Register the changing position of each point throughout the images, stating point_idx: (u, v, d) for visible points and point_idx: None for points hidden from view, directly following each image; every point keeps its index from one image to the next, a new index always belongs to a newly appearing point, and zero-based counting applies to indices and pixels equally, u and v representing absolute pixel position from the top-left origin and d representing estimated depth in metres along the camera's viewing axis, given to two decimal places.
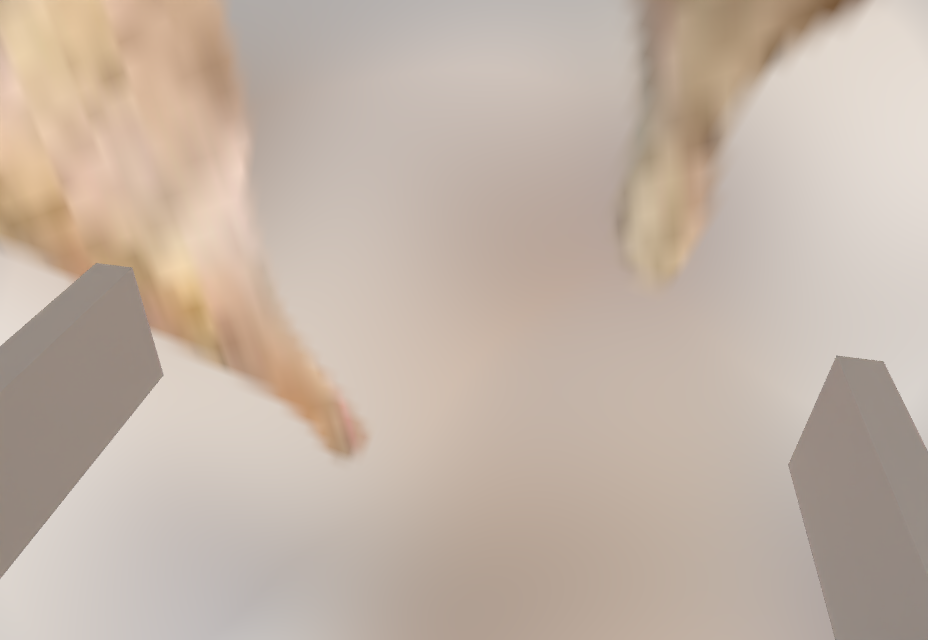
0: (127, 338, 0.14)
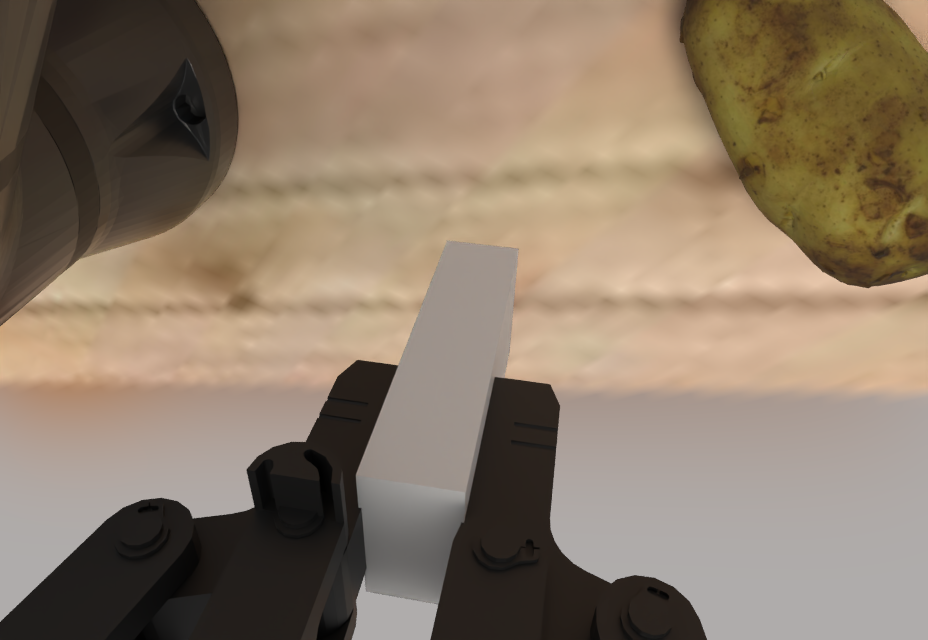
0: None
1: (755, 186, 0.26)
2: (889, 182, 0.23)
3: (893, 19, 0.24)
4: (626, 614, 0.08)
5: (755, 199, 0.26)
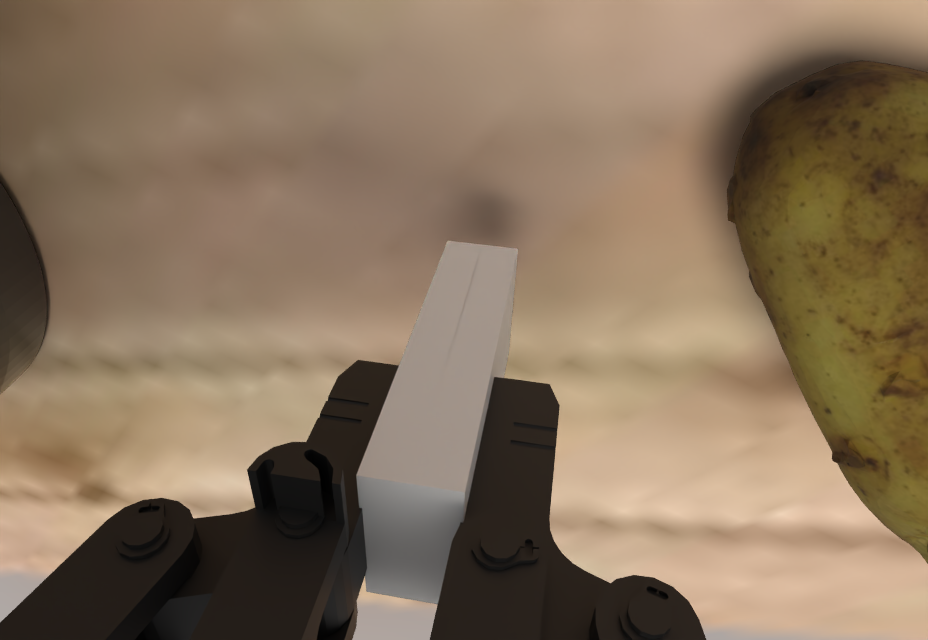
0: None
1: (864, 485, 0.14)
2: None
3: None
4: (625, 614, 0.08)
5: (861, 497, 0.15)
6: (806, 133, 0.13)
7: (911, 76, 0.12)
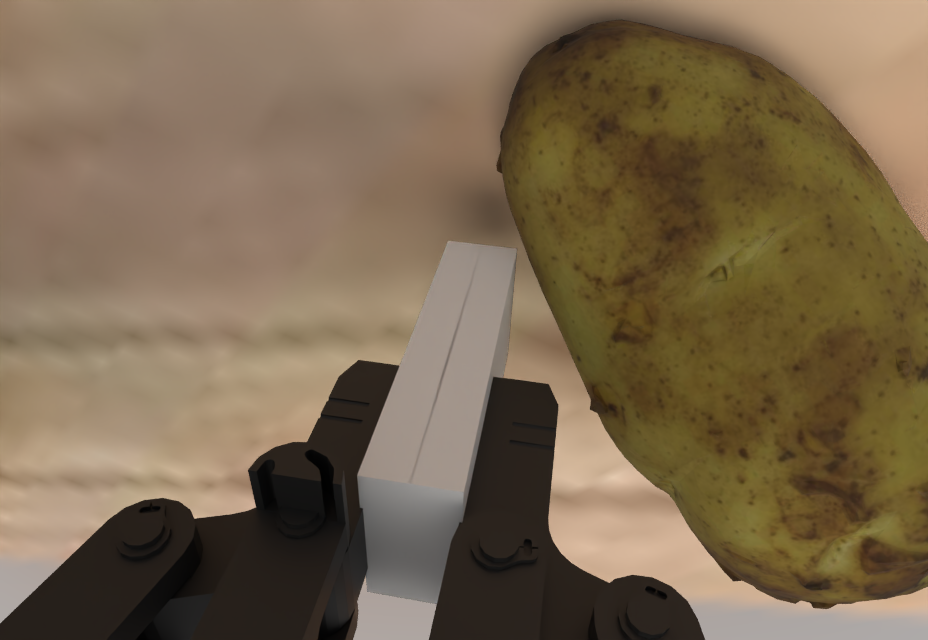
0: None
1: (611, 431, 0.15)
2: (834, 485, 0.12)
3: (860, 171, 0.13)
4: (624, 614, 0.08)
5: (615, 444, 0.15)
6: (547, 83, 0.13)
7: (649, 33, 0.13)
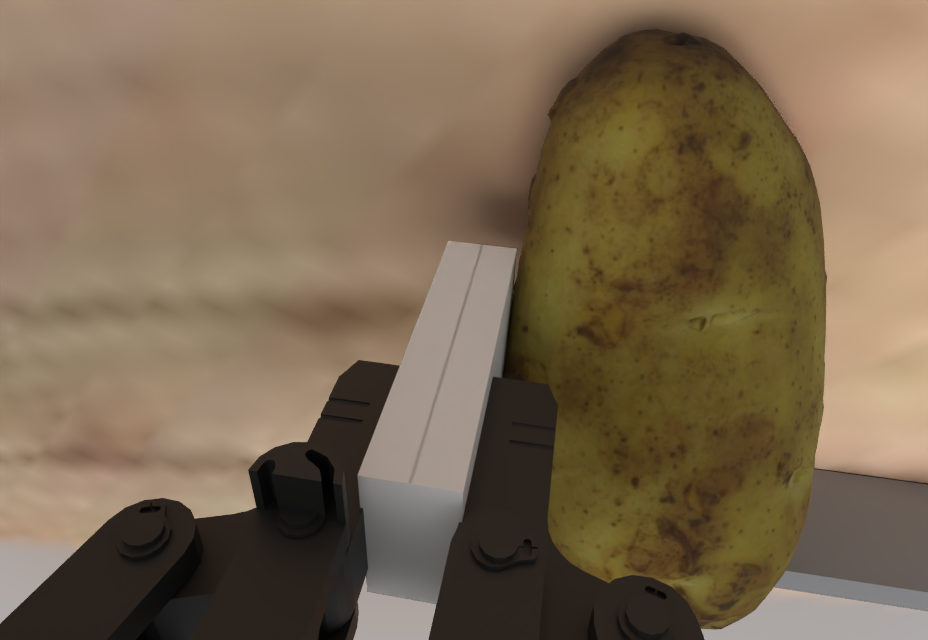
0: None
1: None
2: (686, 539, 0.14)
3: (824, 297, 0.15)
4: (624, 614, 0.08)
5: None
6: (660, 68, 0.12)
7: (756, 83, 0.13)
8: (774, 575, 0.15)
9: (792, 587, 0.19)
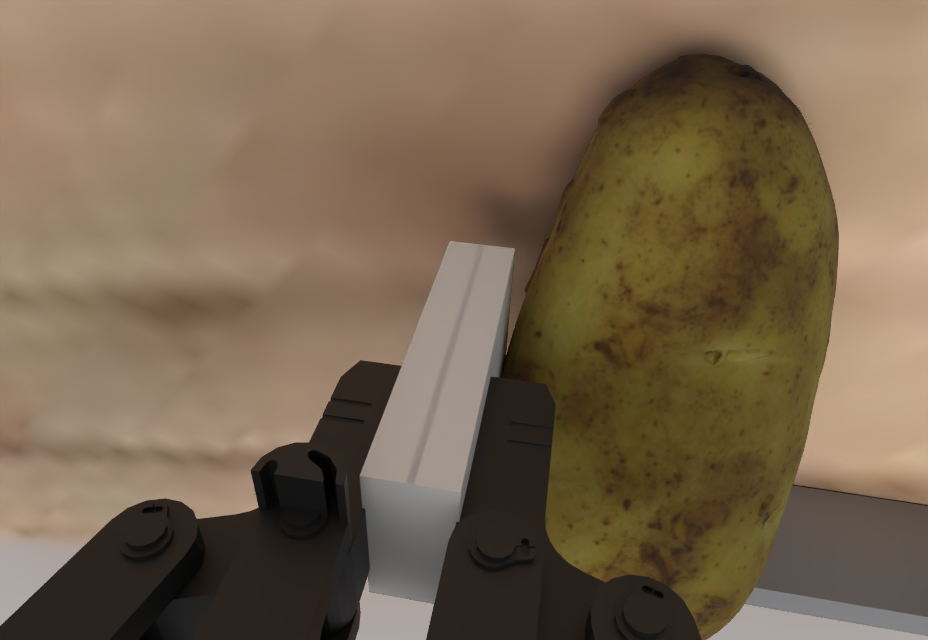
0: None
1: None
2: (665, 566, 0.14)
3: (826, 348, 0.15)
4: (620, 613, 0.08)
5: None
6: (726, 97, 0.12)
7: None
8: (736, 610, 0.15)
9: None
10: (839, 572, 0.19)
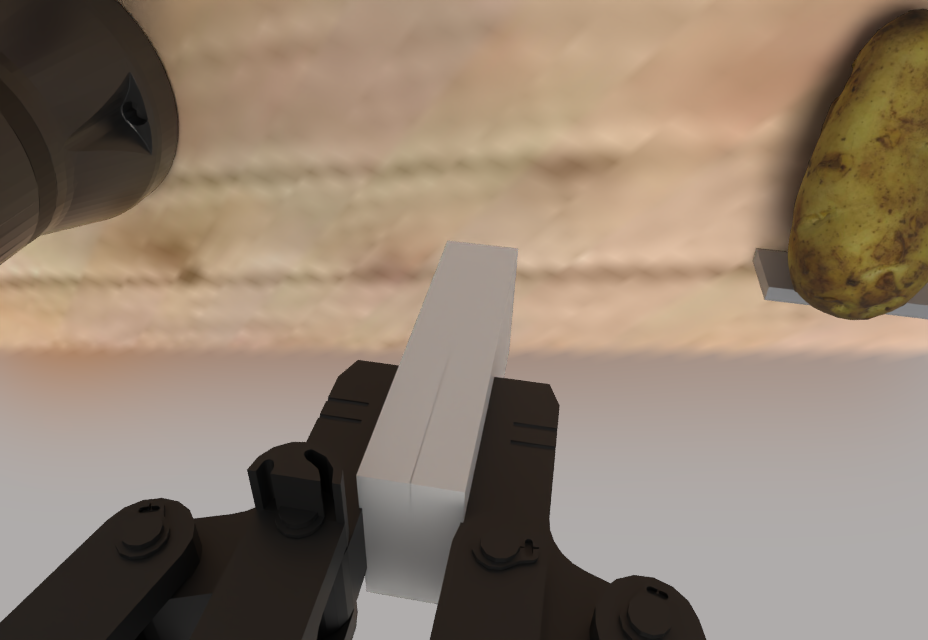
0: None
1: (826, 178, 0.31)
2: (904, 243, 0.30)
3: None
4: (625, 614, 0.08)
5: (813, 186, 0.31)
6: None
7: None
8: None
9: None
10: None
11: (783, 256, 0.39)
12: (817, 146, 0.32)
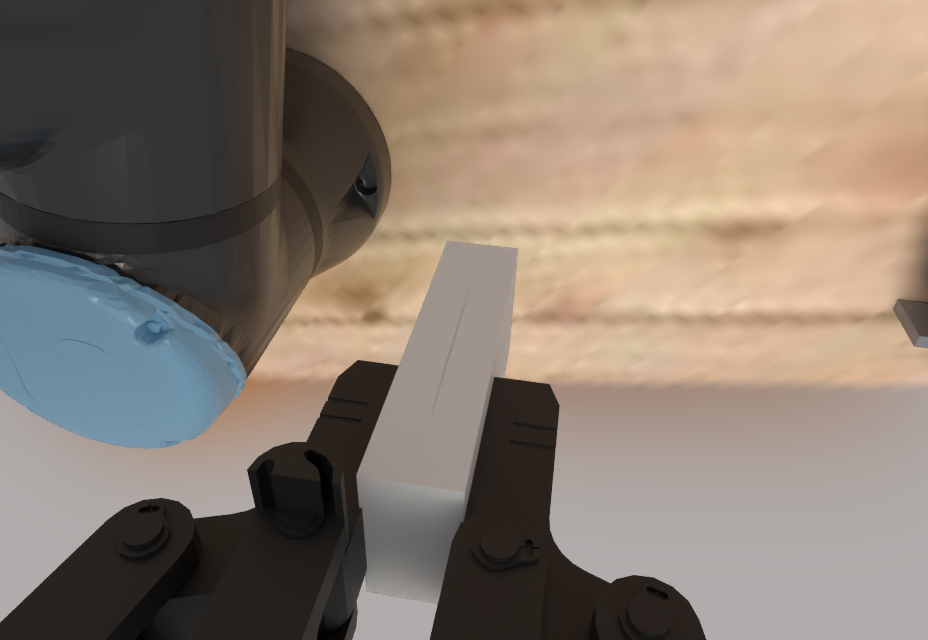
0: None
1: None
2: None
3: None
4: (625, 614, 0.08)
5: None
6: None
7: None
8: None
9: None
10: None
11: (923, 306, 0.45)
12: None
